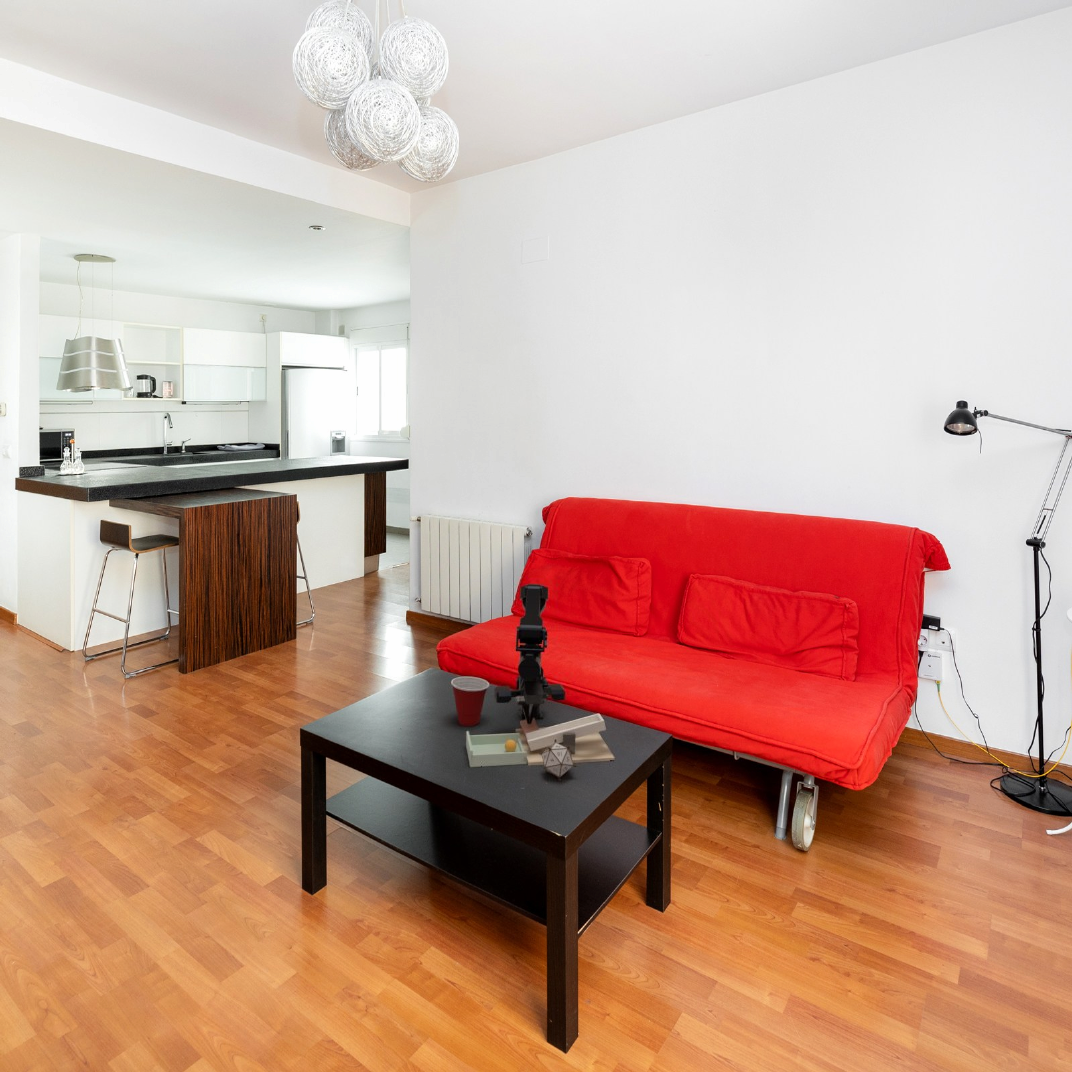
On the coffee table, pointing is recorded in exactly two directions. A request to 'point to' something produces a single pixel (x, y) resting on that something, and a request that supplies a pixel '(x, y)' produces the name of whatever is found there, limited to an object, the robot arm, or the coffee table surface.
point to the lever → (561, 730)
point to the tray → (494, 750)
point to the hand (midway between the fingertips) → (529, 723)
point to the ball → (510, 745)
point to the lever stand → (572, 748)
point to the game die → (557, 759)
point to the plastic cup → (469, 698)
